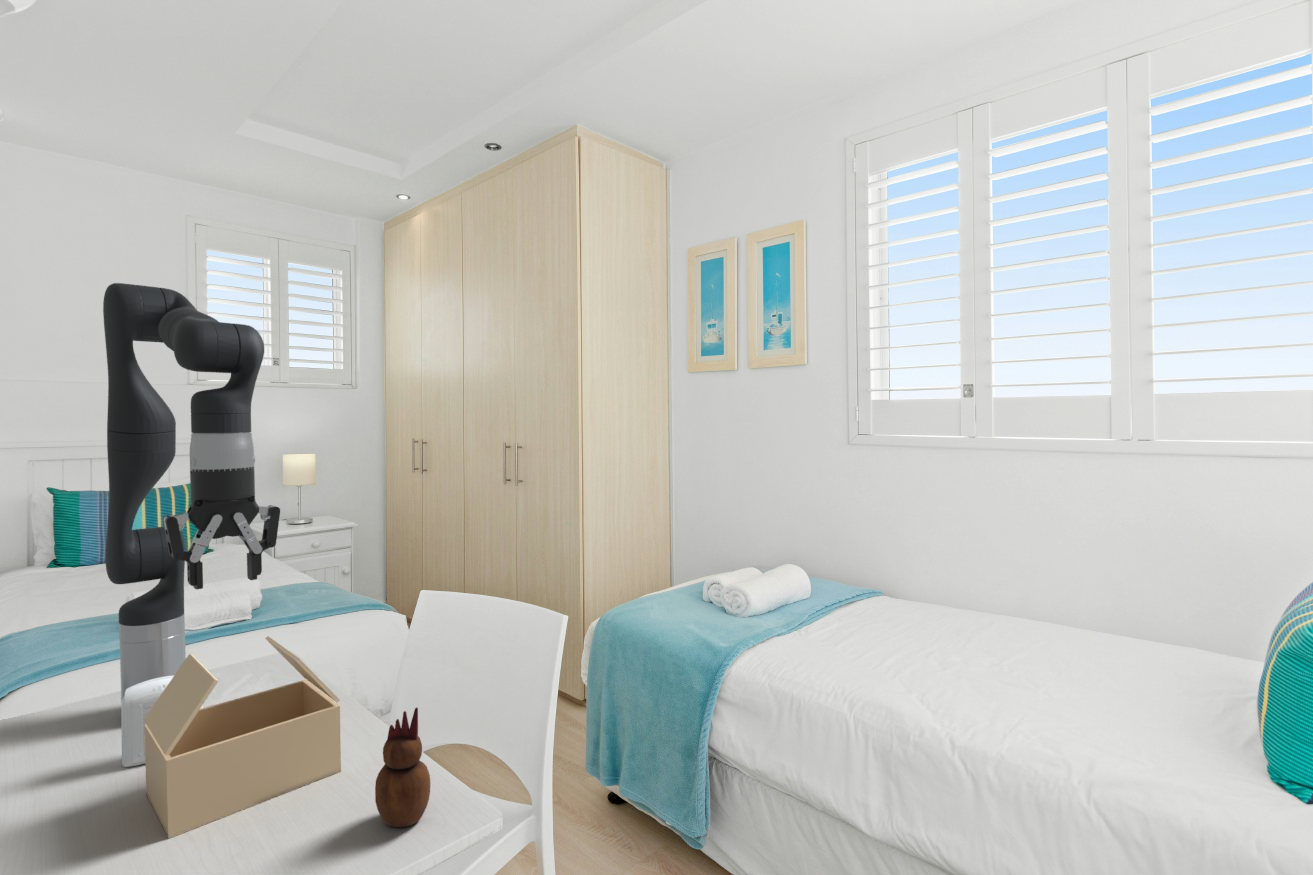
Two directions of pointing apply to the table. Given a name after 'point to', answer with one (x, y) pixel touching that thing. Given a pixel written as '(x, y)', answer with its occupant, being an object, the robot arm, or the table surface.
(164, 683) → the photo printer
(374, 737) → the table surface
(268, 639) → the far flap
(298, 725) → the carton
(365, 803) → the table surface
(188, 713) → the near flap
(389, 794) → the wooden figurine
